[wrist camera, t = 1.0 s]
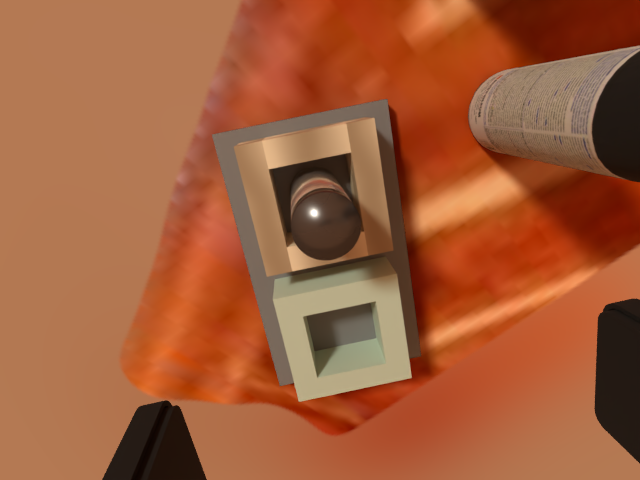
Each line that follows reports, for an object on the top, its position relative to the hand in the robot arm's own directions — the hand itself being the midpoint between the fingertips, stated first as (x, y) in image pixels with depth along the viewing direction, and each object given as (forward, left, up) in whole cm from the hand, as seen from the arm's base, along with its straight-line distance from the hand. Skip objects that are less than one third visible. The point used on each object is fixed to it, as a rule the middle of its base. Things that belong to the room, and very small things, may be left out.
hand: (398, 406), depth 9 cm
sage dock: (0, +12, -26) cm, 28 cm away
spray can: (-17, -3, -27) cm, 32 cm away
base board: (0, +6, -27) cm, 28 cm away
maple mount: (0, 0, -26) cm, 26 cm away
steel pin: (0, 0, -26) cm, 26 cm away
